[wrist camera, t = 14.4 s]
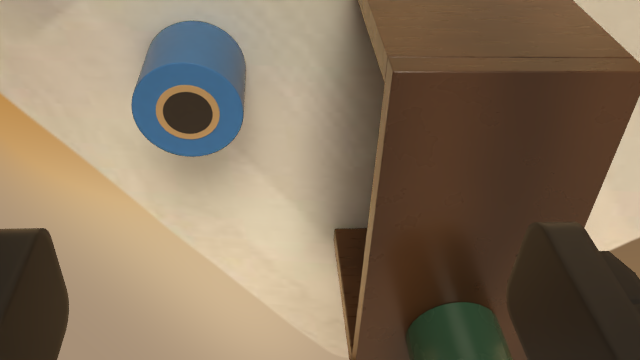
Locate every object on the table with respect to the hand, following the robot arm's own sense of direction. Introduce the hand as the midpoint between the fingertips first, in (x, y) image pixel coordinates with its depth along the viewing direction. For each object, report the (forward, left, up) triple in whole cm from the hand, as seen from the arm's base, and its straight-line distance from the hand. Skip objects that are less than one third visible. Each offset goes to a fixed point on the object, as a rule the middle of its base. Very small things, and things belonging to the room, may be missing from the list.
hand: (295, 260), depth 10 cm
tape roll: (-4, -9, -24) cm, 26 cm away
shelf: (+9, -13, -24) cm, 29 cm away
